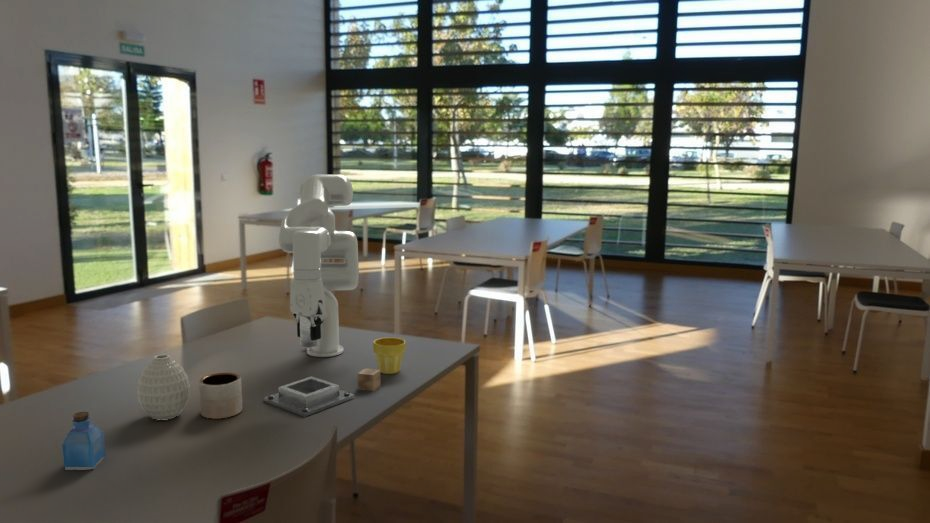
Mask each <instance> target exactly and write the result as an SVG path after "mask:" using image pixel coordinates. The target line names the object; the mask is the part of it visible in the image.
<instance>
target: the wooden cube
mask: <svg viewBox="0 0 930 523" xmlns="http://www.w3.org/2000/svg"><path fill="white" fill-rule="evenodd" d="M357 386H358V387H357V389H358V390H361V389H364V390H363V391H369V390H370V392H375V391H376V390H377V389H378V388H379V387H381V372H380V370H379V369H376V368H375V369H374V368H367V367H366V368H363V369H362V370H361V371H358V373H357Z"/></svg>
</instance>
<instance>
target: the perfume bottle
mask: <svg viewBox="0 0 930 523" xmlns="http://www.w3.org/2000/svg"><path fill="white" fill-rule="evenodd" d="M89 415H90V412H88V411H79V412H76V413H73V414H72V417H73V420H72V426H74V427H73V428H72V429H70V430H69V431H68V433H67V434H66V437H65V439H64V441H63V442H62V444H61V447H62V456H63V457H62V459H63V468H64V467H94V466H95V465H96V463H97V462H98V461H99V460H100V459H101V458H102V457H104V456H105V457H106V453H105V452H106V449H105V438H104V432H103V431H102V430H101V428H99V427H98V425H97V424H91V417H90V416H89Z"/></svg>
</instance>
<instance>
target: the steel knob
mask: <svg viewBox="0 0 930 523" xmlns="http://www.w3.org/2000/svg"><path fill="white" fill-rule="evenodd" d="M317 314H318V312H317V313H316V315H317ZM299 316H300V337H299V339H300V340H299V341H300V344H299V345H300V347H303V348H309V347H314V346H317V345H318V339H317V340H314V341H312V340H311V326H312V323H311V318H310V317H307V316H303V315H302V312H299ZM316 319H317V317H315V321H316Z"/></svg>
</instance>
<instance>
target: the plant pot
mask: <svg viewBox="0 0 930 523" xmlns="http://www.w3.org/2000/svg"><path fill="white" fill-rule="evenodd" d="M406 344H407V343H406V340H405V339H403V338H399V337H389V336H388V337H387V336H385V337H381V338H376V339H374V340H373V343H372V348H373V350H372V351H373V353H374V354H375V357H376V358H375V359H376V361H377V362H376V363H377V368H378V370H380V374H381V373H382V374H389V375H390V374H391V375H393V374H397V373H398V372H400V370H401V367H402V366H401V365H402V361H403V357H404V354H405V352H406V348H407V346H406Z"/></svg>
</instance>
